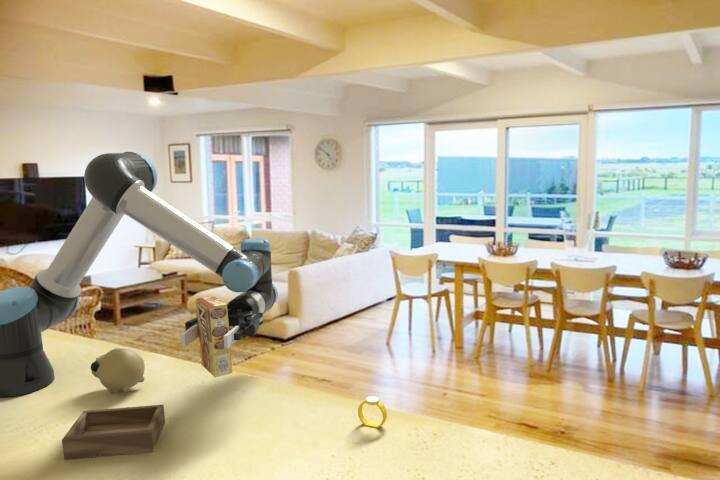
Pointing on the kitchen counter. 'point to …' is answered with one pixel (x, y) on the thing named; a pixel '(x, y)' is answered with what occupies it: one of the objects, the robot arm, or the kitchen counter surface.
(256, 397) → the kitchen counter surface
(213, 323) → the candy box
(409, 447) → the kitchen counter surface
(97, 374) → the round plush toy
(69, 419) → the kitchen counter surface
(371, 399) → the gold gem ring
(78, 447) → the tray
